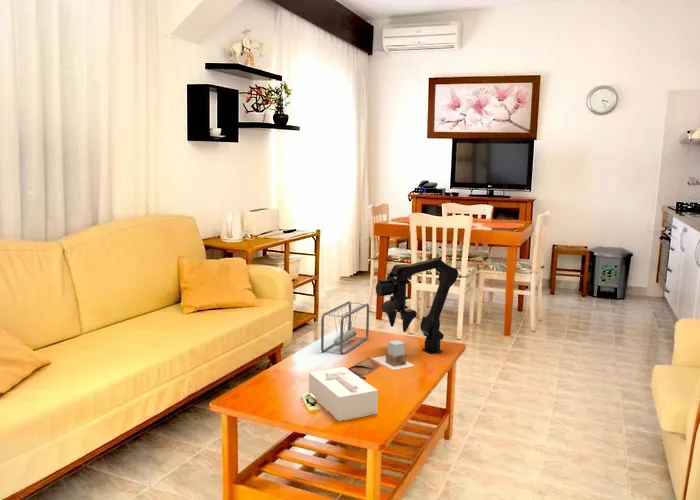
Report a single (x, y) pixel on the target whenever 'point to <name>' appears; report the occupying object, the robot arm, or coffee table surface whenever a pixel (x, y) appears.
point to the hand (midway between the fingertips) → (398, 329)
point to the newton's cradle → (350, 333)
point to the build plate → (383, 361)
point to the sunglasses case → (364, 367)
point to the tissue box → (343, 393)
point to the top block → (396, 348)
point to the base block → (395, 360)
